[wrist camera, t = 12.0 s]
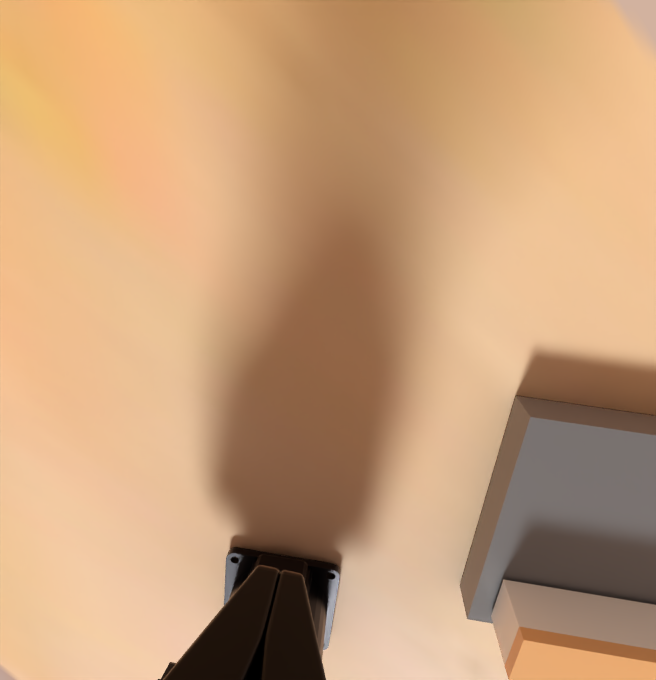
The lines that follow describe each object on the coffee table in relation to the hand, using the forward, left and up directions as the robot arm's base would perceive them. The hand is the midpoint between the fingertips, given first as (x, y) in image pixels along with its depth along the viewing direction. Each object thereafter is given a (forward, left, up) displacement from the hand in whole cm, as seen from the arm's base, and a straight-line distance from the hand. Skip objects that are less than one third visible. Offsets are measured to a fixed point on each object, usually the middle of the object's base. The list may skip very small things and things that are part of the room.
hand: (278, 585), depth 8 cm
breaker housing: (-7, -15, -13) cm, 21 cm away
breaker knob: (-11, -15, -11) cm, 22 cm away
